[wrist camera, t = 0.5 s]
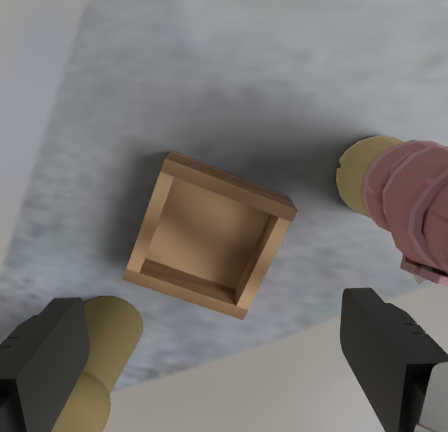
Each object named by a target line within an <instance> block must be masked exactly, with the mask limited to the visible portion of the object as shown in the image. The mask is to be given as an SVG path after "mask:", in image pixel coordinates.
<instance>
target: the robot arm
mask: <svg viewBox="0 0 448 432" xmlns="http://www.w3.org/2000/svg"><path fill="white" fill-rule="evenodd" d="M340 341H341V347H342V351H343V354H344V356H345V358H346V360H347V361H348V363H349V365H350V367H351V369H352V371H353V372H354V374H355V376H356V378H357V380H358V382H359V384H360V385H361V387H362V389H363V391H364V393H365V395H366V397H367V398H368V400H369V402H370V404H371V406H372V408H373V409H374V411H375V413H376V415H377V417H378V419H379V421H380V422H381V424H382V426H383V428H384V430H385V432H448V354H447V353H446V352H445V351H444V350H443V349H442V348H441V347H440V346H439V345H438V344H437V343H436V342H435V341H434V340H433V339H432V338H431V337H430V336H429V335H428V334H426V333H425V331H424V330H423V329H422V328H421V327H420V326H419V325H417V323H416V322H415V321H414V320H413V319H412V318H411V316H410V315H409V314H407V312H405V311H403V310H402V309H400V308H398V307H396V306H394V305H393V304H391V303H385V302H384V301H383V300H382V299H381V298H380V297H379V296H378V295H377V294H376V293H375V291H374V290H373V289H372V288H347V289H345V290H344V292H343V297H342V311H341V326H340ZM89 350H90V343H89V335H88V329H87V322H86V315H85V308H84V303H83V300H82V299H81V298H79V297H78V298H54V299H53V300H52V301H51V302H50V303H49V304H48V305H47V306H46V307H45V309H44V310H43V311H42V312H41V313H40V314H39V315H35V316H33V317H31V318H30V319H28V320H27V321H25V322H23V323H22V324H20V325H18V326H17V328H16V329H15V330H14V331H13V332H12V333H11V334H10V335H9V336H8V338H7V339H5V340H4V341H3V342H2V343H1V344H0V432H51V431H52V429H53V427H54V425H55V423H56V421H57V419H58V417H59V415H60V414H61V412H62V410H63V408H64V406H65V404H66V402H67V400H68V398H69V396H70V394H71V393H72V391H73V389H74V387H75V385H76V383H77V381H78V379H79V377H80V375H81V373H82V371H83V370H84V368H85V366H86V364H87V361H88V357H89Z"/></svg>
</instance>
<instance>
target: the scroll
mask: <svg viewBox="0 0 448 432" xmlns="http://www.w3.org/2000/svg"><path fill="white" fill-rule="evenodd" d="M339 162H340V165H341V167H340V168H337V174H336V183H337V186H338V190H339V193H340V196H341V198H342V199H343V200H344V202H345V203H346V204H347V205H348V207H350V208H351V209H352V210H353V211H355V212H357V213H360V214H363V215H365V216H367V217H369V218H372V219H373V220H374V222H375V223H376V224H377V225H378V226H379V227H381V228H383V229H385V230H387V231H389V232H391V234H392V236H393V239H394V242H395V245H396V247H397V248H398V249H399V250H400V251H401V252H402V253H403V257H402V262H401V267H400V268H401V269H404V270H406V271H408V272H410V273H412V274H413V275H414V277H415V279H416V281H417V283H418V284H419V283H421V282H423V281H426V280H430V281H432V282H434V283H437V284H440V285H445V286H448V147H446V146H442V145H440V144H438V143H435V142H432V141H418V140H411V141H408V142H403V141H401V140H398V139H396V138H394V137H383V136H374V137H370V138H367V139H363V140H359V141H358V142H357V143H355V144H354V145H353V146H351V147H350V148H349V149H347V150H346V151H345V152H344V154H343V155H342V156H341V158H340V159H339Z"/></svg>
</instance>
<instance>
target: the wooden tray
mask: <svg viewBox="0 0 448 432" xmlns="http://www.w3.org/2000/svg"><path fill="white" fill-rule="evenodd" d="M296 212H297V209H296V207H295V206H294V204H293V202H292V201H291V199H290V198H289V197H288V196H285V195H283V194H280V193H277V192H275V191H272V190H270V189H267V188H265V187H262V186H260V185H257V184H255V183H252V182H250V181H247V180H244V179H242V178H239V177H237V176H234V175H232V174H229V173H227V172H224V171H222V170H219V169H217V168H214V167H211V166H209V165H206V164H204V163H201V162H199V161H196V160H194V159H191V158H189V157H186V156H184V155H181V154H178V153H176V152H173V151H170V153H169V154H168V155H167V156H166V158H165V159H164V162H163V165H162V168H161V171H160V174H159V177H158V179H157V182H156V185H155V188H154V191H153V194H152V197H151V200H150V202H149V205H148V208H147V211H146V214H145V217H144V220H143V222H142V225H141V228H140V231H139V234H138V237H137V240H136V242H135V245H134V248H133V251H132V254H131V257H130V260H129V263H128V265H127V268H126V271H125V274H124V277H123V280H126V281H129V282H132V283H135V284H138V285H141V286H144V287H147V288H150V289H153V290H155V291H158V292H161V293H164V294H167V295H170V296H173V297H176V298H179V299H182V300H185V301H188V302H191V303H194V304H197V305H200V306H203V307H206V308H209V309H212V310H215V311H218V312H221V313H224V314H227V315H230V316H233V317H236V318H239V319H242V320H243V319H244V317H245V315H246V313H247V311H248V309H249V307H250V305H251V303H252V301H253V299H254V297H255V295H256V293H257V291H258V289H259V287H260V285H261V283H262V281H263V279H264V277H265V274H266V272H267V270H268V268H269V266H270V264H271V262H272V260H273V258H274V256H275V254H276V252H277V250H278V248H279V246H280V244H281V242H282V240H283V238H284V236H285V234H286V232H287V230H288V228H289V226H290V224H291V222H292V220H293V218H294V216H295V214H296Z"/></svg>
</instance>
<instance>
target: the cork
mask: <svg viewBox="0 0 448 432" xmlns="http://www.w3.org/2000/svg"><path fill="white" fill-rule="evenodd" d="M84 308H85V315H86V322H87V329H88V335H89V343H90V350H89V357H88V361H87V364H86V366H85V368H84V370H83V371H82V373H81V375H80V377H79V379H78V381H77V383H76V385H75V387H74V389H73V391H72V393H71V394H70V396H69V398H68V400H67V402H66V404H65V406H64V408H63V410H62V412H61V414H60V415H59V417H58V419H57V421H56V423H55V425H54V427H53V429H52V431H51V432H102V431H103V430H104V428H105V426H106V423H107V420H108V417H109V413H110V405H111V403H110V392H111V390H112V389H113V387H114V385H115V383H116V381H117V379H118V378H119V376H120V374H121V372H122V370H123V368H124V367H125V365H126V363H127V361H128V359H129V357H130V356H131V354H132V352H133V350H134V348H135V346H136V345H137V343H138V341H139V339H140V337H141V334H142V331H143V321H142V319H141V316H140V314H139V312H138V311H137V310H136V309H135V308H134V306H133V305H132V304H130V303H128V302H127V301H125V300H123V299H120V298H117V297H113V296H100V297H96V298H93V299H91V300H89V301H88V302H86V303H85V304H84Z"/></svg>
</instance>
